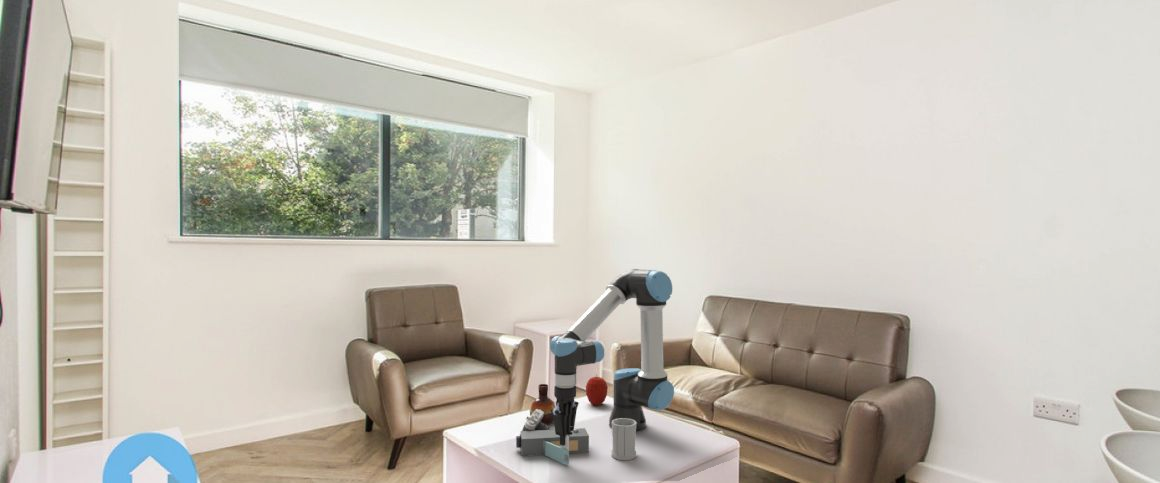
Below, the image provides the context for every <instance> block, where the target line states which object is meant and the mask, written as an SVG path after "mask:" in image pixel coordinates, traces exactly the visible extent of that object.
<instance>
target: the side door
mask: <svg viewBox="0 0 1160 483" xmlns="http://www.w3.org/2000/svg"><path fill="white" fill-rule="evenodd" d="M542 456H546V457H547V458H550V459H552V460H554V461H557V462H559V463H562V464H563V465H566V466H570V453H569V450H566V449H564V448H561V447H559V446H557V445H554V444H552V443H549V442H546V441H543V455H542Z"/></svg>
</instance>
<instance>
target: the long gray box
mask: <svg viewBox="0 0 1160 483" xmlns="http://www.w3.org/2000/svg"><path fill="white" fill-rule="evenodd" d="M571 432H572V435H570V438H569V440H570V441H569V454H583V453H590V448H589V447H590V435H589V433H588V431H587V429H586V428H585V427H583V428H582V427H581V428H576V427H574V430H573V431H571ZM515 438H516V439H515V442H516V448H518V449H519V448H520V454H521V457H529V456H528V455H533V456H544V455H543V441H546V442H549V443H552V444H554V445H557V446H559V447H560V436H559V435H556V433H555V429H550V430H536V431H522V430H521V431H520V434H519V435H516V436H515Z"/></svg>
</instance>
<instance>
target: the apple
mask: <svg viewBox="0 0 1160 483" xmlns="http://www.w3.org/2000/svg"><path fill="white" fill-rule="evenodd" d="M608 388H609V387H608V384H607V382H606V380H605V379H604V378H603V377H600V376H598V375H597V374H596V376H593V377H590V378H589V379H588V381H587V383H586V385H585V393H586V397H587V400H588V402H589V403H590V405H592V406H594V407H595V406H600V405H602V404H603V403H604V402H606V401H605V400H606V398H607V395H608Z"/></svg>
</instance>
